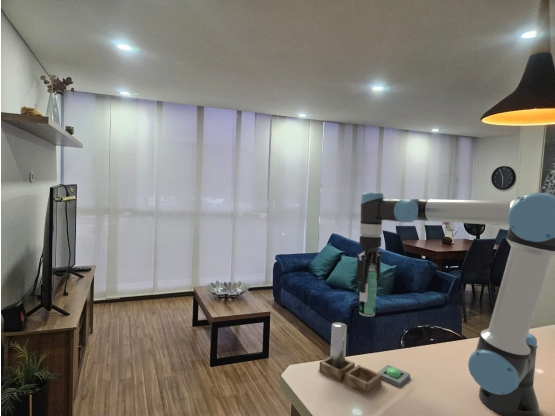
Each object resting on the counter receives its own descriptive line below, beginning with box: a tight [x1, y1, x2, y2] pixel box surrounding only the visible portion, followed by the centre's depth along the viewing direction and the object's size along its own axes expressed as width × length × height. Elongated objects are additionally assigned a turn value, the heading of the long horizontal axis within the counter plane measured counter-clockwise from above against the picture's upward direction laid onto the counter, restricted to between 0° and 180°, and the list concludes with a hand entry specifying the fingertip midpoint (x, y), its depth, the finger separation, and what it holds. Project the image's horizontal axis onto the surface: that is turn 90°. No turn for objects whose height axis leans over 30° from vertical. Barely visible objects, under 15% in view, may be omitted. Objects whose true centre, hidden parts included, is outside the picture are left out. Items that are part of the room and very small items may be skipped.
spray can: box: [358, 263, 378, 318], centre depth 127 cm, size 6×6×20 cm
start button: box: [386, 366, 401, 379], centre depth 118 cm, size 4×4×3 cm
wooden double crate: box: [317, 356, 384, 396], centre depth 117 cm, size 19×10×4 cm, turn 46°
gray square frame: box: [377, 364, 411, 388], centre depth 118 cm, size 8×8×2 cm
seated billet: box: [329, 321, 348, 369], centre depth 120 cm, size 5×5×16 cm
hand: (367, 299), depth 127 cm, fingers closed on spray can, 5 cm apart
